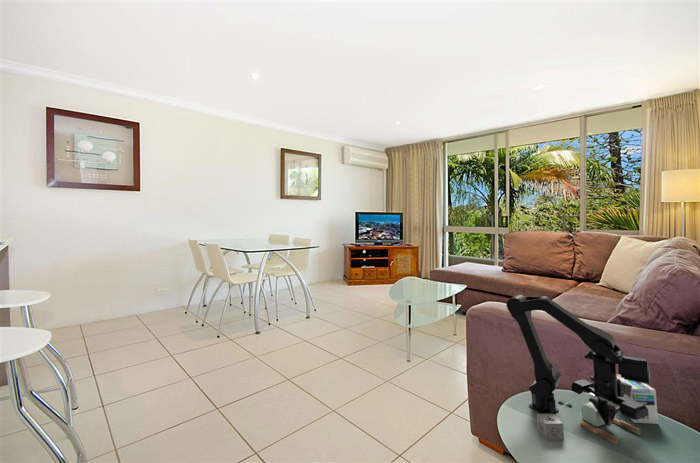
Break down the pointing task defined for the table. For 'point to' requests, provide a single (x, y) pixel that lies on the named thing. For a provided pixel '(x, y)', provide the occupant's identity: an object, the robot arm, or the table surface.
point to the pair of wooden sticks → (609, 436)
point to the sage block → (591, 414)
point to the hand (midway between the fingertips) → (608, 425)
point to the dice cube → (550, 427)
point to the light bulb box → (642, 399)
